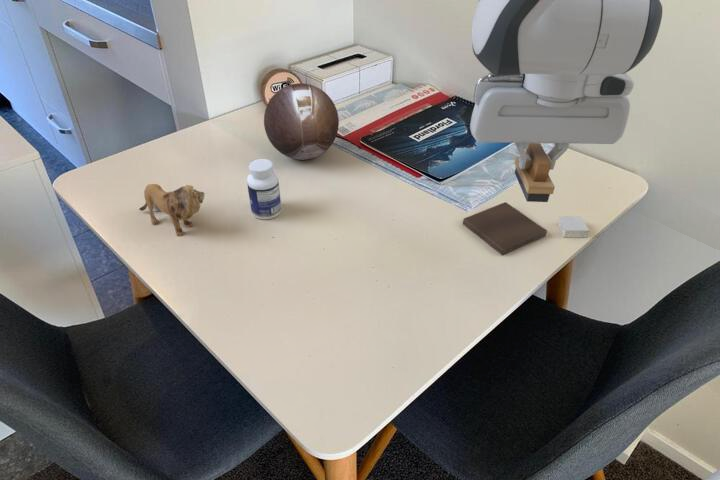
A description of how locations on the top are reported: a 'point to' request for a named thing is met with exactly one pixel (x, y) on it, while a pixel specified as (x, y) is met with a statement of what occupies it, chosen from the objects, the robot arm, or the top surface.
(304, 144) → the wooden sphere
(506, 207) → the board
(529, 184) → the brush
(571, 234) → the chalk block
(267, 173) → the pill bottle
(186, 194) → the lion figurine
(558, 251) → the top surface
